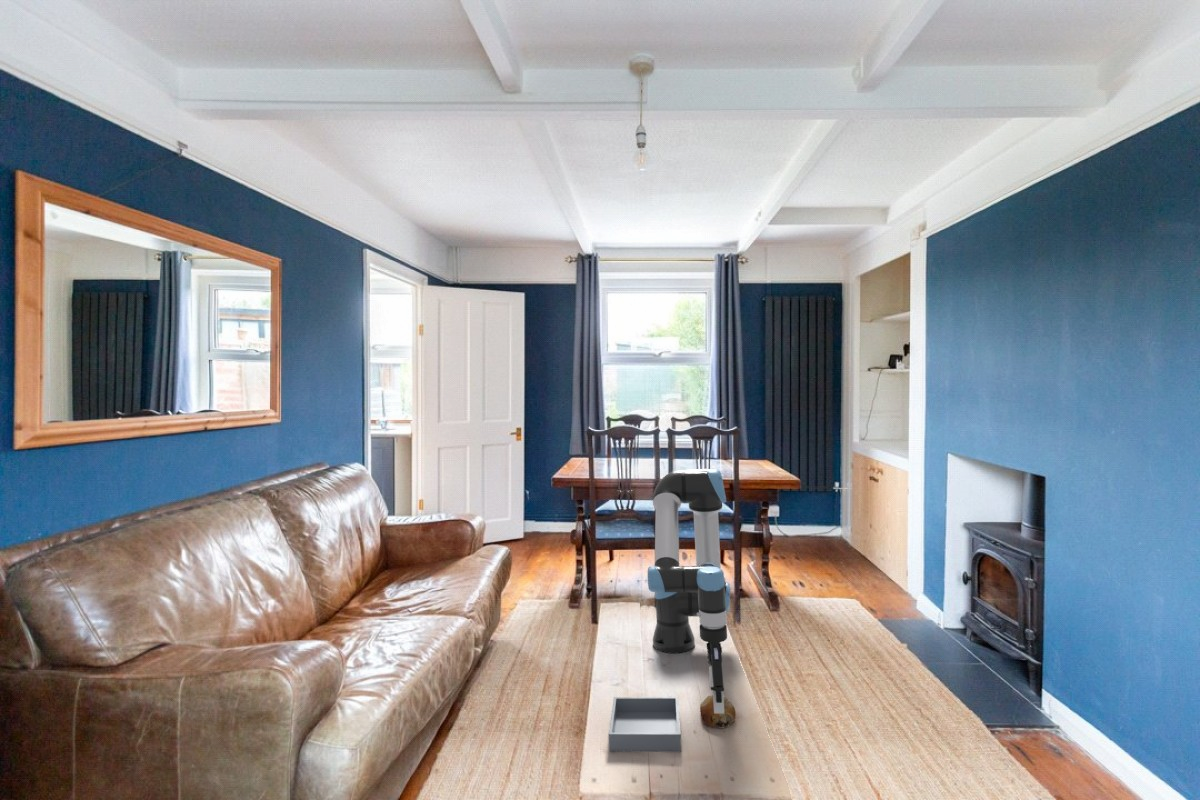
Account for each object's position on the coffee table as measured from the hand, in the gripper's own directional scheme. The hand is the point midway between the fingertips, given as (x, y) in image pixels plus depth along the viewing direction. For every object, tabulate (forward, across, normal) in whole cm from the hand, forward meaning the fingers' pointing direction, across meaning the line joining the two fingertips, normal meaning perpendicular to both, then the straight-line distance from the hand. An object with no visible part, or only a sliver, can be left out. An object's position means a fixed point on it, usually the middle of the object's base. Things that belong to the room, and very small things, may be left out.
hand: (716, 700), depth 167 cm
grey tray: (+6, +6, -20) cm, 21 cm away
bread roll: (+6, 0, 0) cm, 6 cm away
